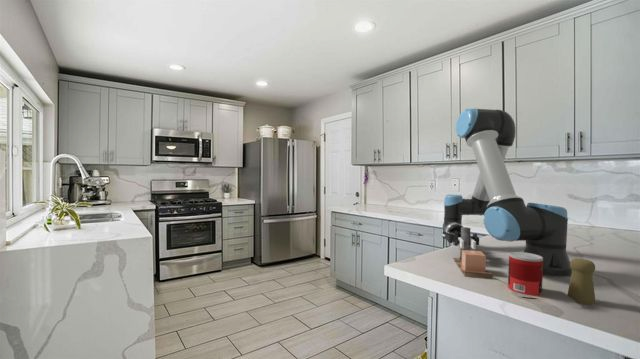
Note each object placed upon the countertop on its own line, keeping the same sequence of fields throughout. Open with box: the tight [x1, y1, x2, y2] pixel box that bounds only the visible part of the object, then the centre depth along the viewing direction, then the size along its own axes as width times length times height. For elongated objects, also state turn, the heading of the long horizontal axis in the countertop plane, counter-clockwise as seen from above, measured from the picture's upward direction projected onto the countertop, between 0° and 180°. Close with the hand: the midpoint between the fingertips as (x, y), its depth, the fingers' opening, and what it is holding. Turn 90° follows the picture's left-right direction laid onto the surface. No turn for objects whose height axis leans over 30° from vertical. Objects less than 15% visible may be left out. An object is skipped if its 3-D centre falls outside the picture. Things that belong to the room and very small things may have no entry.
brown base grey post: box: [452, 226, 494, 280], centre depth 107 cm, size 22×8×13 cm, turn 166°
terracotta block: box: [461, 249, 487, 272], centre depth 103 cm, size 6×6×6 cm
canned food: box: [507, 251, 544, 300], centre depth 87 cm, size 8×8×11 cm
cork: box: [566, 258, 597, 306], centre depth 83 cm, size 6×6×11 cm
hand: (468, 245), depth 110 cm, fingers closed on brown base grey post, 3 cm apart
